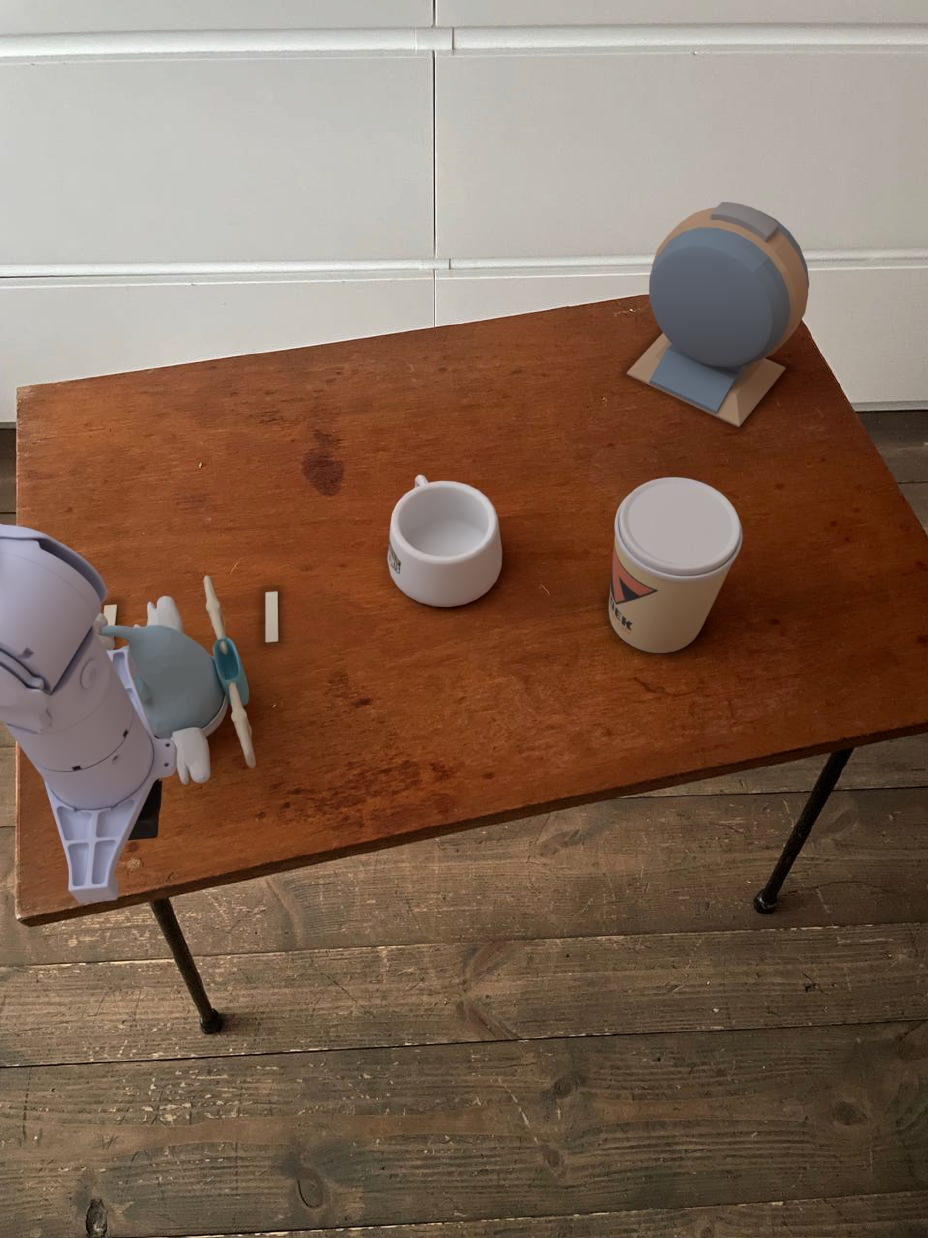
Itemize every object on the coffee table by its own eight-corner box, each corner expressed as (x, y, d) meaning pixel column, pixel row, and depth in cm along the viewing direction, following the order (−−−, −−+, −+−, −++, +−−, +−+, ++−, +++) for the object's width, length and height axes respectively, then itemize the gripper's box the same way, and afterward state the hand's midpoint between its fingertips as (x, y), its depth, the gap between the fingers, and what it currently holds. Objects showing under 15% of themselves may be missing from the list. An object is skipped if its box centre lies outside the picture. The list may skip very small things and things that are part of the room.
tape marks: (99, 657, 85) (99, 656, 85) (104, 606, 88) (104, 605, 87) (278, 641, 86) (278, 641, 86) (277, 592, 88) (277, 591, 88)
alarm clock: (794, 373, 104) (849, 214, 89) (748, 431, 99) (798, 274, 85) (666, 316, 108) (699, 156, 94) (617, 369, 104) (643, 210, 89)
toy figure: (103, 650, 85) (43, 532, 73) (232, 617, 87) (195, 496, 75) (132, 837, 76) (70, 737, 64) (276, 795, 78) (242, 691, 66)
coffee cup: (588, 575, 90) (604, 479, 80) (696, 564, 90) (726, 468, 80) (610, 668, 84) (631, 578, 74) (725, 656, 85) (760, 565, 75)
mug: (518, 593, 88) (522, 548, 84) (408, 625, 87) (405, 581, 82) (470, 490, 95) (471, 443, 90) (366, 518, 93) (361, 471, 88)
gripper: (147, 847, 50) (203, 938, 62) (163, 600, 58) (210, 720, 70) (-5, 862, 50) (79, 951, 61) (32, 610, 58) (101, 730, 69)
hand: (141, 829), depth 65 cm, fingers closed
